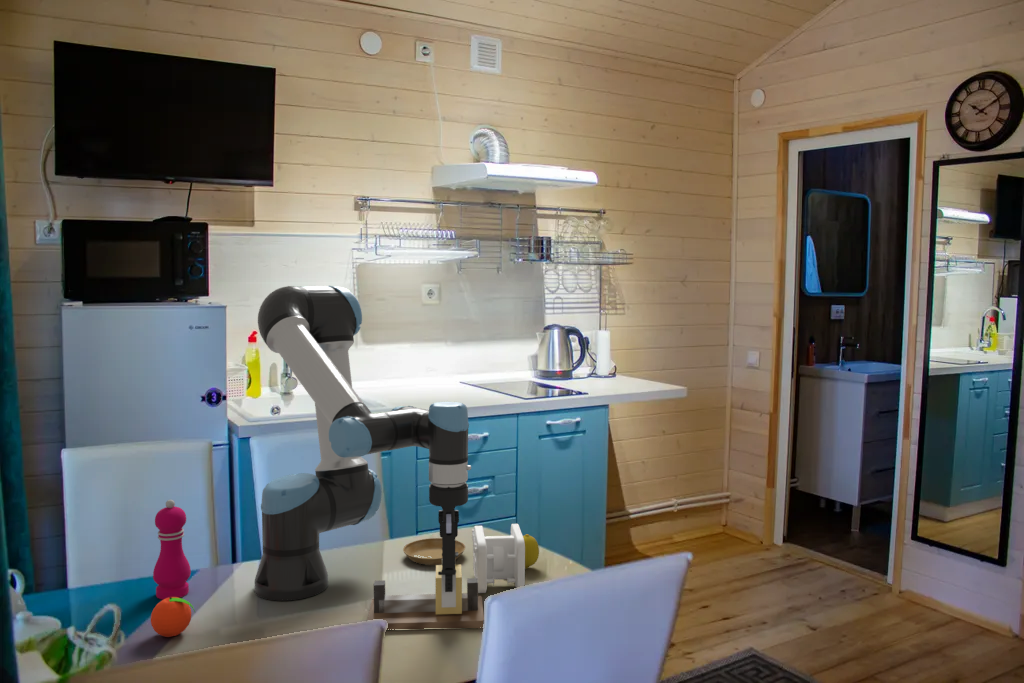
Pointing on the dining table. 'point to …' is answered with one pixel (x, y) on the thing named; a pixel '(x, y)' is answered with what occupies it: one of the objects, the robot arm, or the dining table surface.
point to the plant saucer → (429, 550)
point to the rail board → (430, 619)
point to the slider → (458, 592)
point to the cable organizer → (498, 557)
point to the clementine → (171, 616)
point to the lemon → (530, 550)
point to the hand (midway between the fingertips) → (448, 598)
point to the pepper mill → (171, 553)
